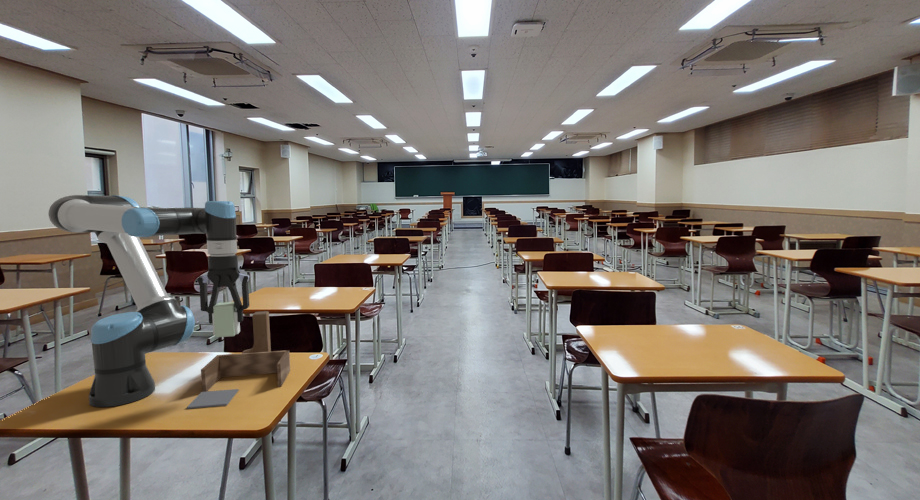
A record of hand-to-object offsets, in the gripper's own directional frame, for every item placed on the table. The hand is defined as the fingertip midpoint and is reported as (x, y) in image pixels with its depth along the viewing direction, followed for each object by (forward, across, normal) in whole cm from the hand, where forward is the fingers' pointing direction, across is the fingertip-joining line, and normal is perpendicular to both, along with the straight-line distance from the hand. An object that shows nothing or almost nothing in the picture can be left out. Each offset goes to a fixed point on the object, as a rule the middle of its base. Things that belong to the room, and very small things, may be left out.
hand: (226, 333), depth 127 cm
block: (0, 0, 0) cm, 0 cm away
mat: (+17, -3, -6) cm, 18 cm away
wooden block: (+18, +3, +22) cm, 28 cm away
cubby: (+17, +4, +6) cm, 19 cm away
